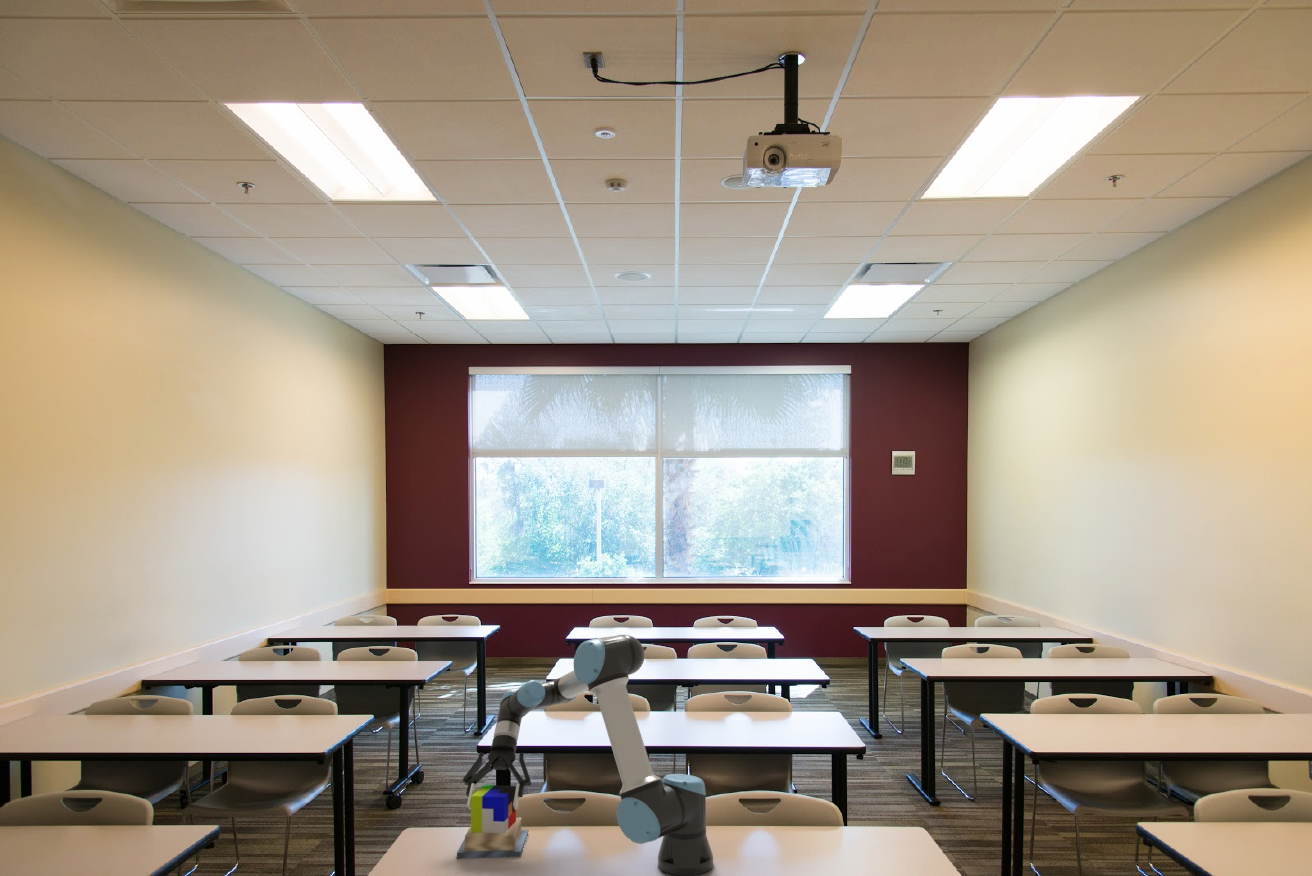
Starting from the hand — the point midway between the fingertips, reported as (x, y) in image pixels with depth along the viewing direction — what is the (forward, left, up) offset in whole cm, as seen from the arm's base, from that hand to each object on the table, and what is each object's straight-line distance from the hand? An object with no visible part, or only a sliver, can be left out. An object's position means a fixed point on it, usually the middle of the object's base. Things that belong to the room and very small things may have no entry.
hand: (492, 807), depth 232 cm
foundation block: (0, -2, -12) cm, 12 cm away
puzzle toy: (0, -2, -6) cm, 7 cm away
